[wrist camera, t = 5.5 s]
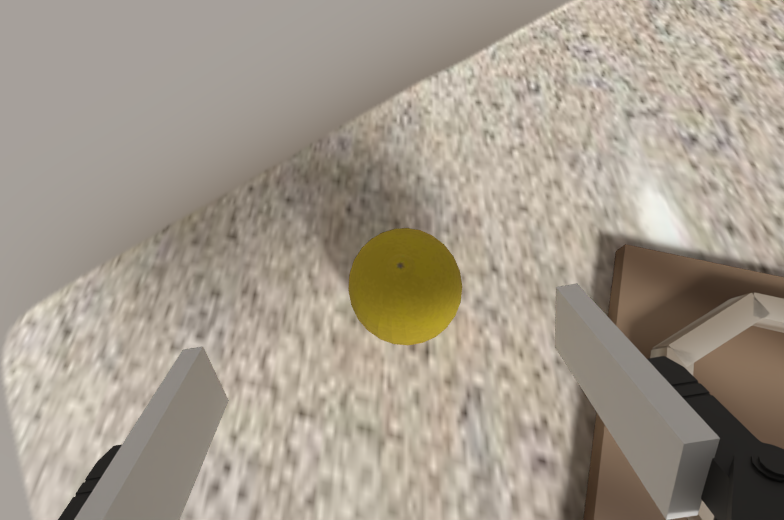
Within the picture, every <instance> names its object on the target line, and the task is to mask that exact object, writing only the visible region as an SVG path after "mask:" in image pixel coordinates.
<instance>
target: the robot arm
mask: <svg viewBox="0 0 784 520" xmlns="http://www.w3.org/2000/svg"><path fill="white" fill-rule="evenodd" d="M555 348H556V350H557V351H558V353H559V354H560V356H561V357H562V359H563V360H564V362H565V364H566V365H567V367H568V368H569V370H570V371H571V373H572V374H573V376H574V378H575V379H576V381H577V382H578V384H579V385H580V387H581V388H582V390H583V392H584V393H585V395H586V396H587V398H588V399H589V401H590V402H591V404H592V406H593V407H594V409H595V410H596V412H597V413H598V415H599V416H600V418H601V420H602V421H603V423H604V424H605V426H606V427H607V429H608V430H609V432H610V434H611V435H612V437H613V438H614V440H615V441H616V443H617V444H618V446H619V448H620V449H621V451H622V452H623V454H624V455H625V457H626V458H627V460H628V462H629V463H630V465H631V466H632V468H633V469H634V471H635V472H636V474H637V476H638V477H639V479H640V480H641V482H642V483H643V485H644V486H645V488H646V490H647V491H648V493H649V494H650V496H651V497H652V499H653V500H654V502H655V504H656V505H657V507H658V508H659V510H660V511H661V513H662V514H663V516H664V518H665V519H666V520H669V519H676V518H683V517H689V516H696V515H698V512H699V509H700V505H701V502H702V501H703V502H704V503H705V505H706V506H707V507H708V509H709V510H710V511H711V513H712V514H713V515H714V519H713V520H784V449H782V448H780V447H777V446H775V445H772V444H767V443H763V442H761V441H759V440H758V439H757V438H756V437H755V436H754V435H753V434H752V433H751V432H750V431H749V430H748V429H747V428H746V427H745V426H744V425H743V424H742V423H741V422H740V421H739V420H738V419H737V418H736V417H734V416H733V415H732V414H731V413H730V412H729V411H728V410H727V409H726V408H725V407H724V406H723V405H722V404H721V403H720V402H719V401H718V400H717V399H716V398H715V397H714V396H713V395H710V393H709V391H708V390H707V389H706V388H705V387H704V386H703V385H702V384H701V383H698V380H697V379H696V378H695V377H694V376H693V375H692V374H691V373H690V372H689V371H688V370H687V369H686V368H685V367H683V366H682V365H680V364H678V363H676V362H674V361H673V360H671V359H669V358H667V357H666V356H660V357H654V358H648V359H646V358H645V356H644V355H643V354H642V353H641V352H640V351H639V350H638V349H637V348H636V347H635V346H634V345H633V343H632V342H631V341H630V340H629V339H628V338H627V337H626V336H625V335H624V334H623V333H622V332H621V330H620V329H619V328H618V327H617V326H616V325H615V324H614V323H613V322H612V321H611V320H610V319H609V317H608V316H607V315H606V314H605V313H604V312H603V311H602V310H601V309H600V308H599V307H598V306H597V304H596V303H595V302H594V301H593V300H592V299H591V298H590V297H589V296H588V295H587V294H586V293H585V291H584V290H583V289H582V288H581V287H580V286H579V285H578V284H572V285H566V286H560V287H556V313H555ZM228 401H229V400H228V398H227V396H226V394H225V392H224V390H223V388H222V385H221V383H220V381H219V379H218V377H217V375H216V373H215V371H214V369H213V367H212V365H211V362H210V360H209V358H208V356H207V354H206V352H205V350H204V348H203V347H197V348H191V349H185V350H182V352H181V354H180V355H179V357H178V358H177V360H176V361H175V363H174V364H173V366H172V368H171V369H170V371H169V372H168V374H167V375H166V377H165V379H164V380H163V382H162V383H161V385H160V386H159V388H158V389H157V391H156V393H155V394H154V396H153V397H152V399H151V400H150V402H149V404H148V405H147V407H146V408H145V410H144V411H143V413H142V414H141V416H140V418H139V419H138V421H137V422H136V424H135V425H134V427H133V429H132V430H131V432H130V433H129V435H128V436H127V438H126V439H125V441H124V443H123V444H122V445H116V446H113V447H112V448H111V449H110V450H109V451H108V452H107V453H106V454H105V455H104V456H103V457H102V458H101V459H100V460H99V461H98V462H97V463H96V464H95V466H94V467H93V469H92V470H91V472H90V473H89V475H88V476H87V478H86V479H85V480H86V481H85V483H83V484H82V485H81V486H80V488H79V489H78V491H77V492H76V496H75V497H73V498H72V500H71V501H70V503H69V504H68V506H67V507H66V509H65V510H64V512H63V513H62V515H61V516H60V518H59V519H58V520H180V517H181V515H182V512H183V510H184V507H185V505H186V503H187V500H188V498H189V495H190V493H191V490H192V488H193V486H194V483H195V481H196V478H197V476H198V473H199V471H200V469H201V466H202V464H203V461H204V459H205V456H206V454H207V452H208V449H209V447H210V444H211V442H212V439H213V437H214V435H215V432H216V430H217V427H218V425H219V422H220V420H221V418H222V415H223V413H224V410H225V408H226V405H227V403H228Z"/></svg>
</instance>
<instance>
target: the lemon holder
mask: <svg viewBox="0 0 784 520" xmlns="http://www.w3.org/2000/svg"><path fill="white" fill-rule="evenodd" d="M608 317H609V319H610V320H611V321H612V322H613V323H614V324H615V325H616V326H617V327H618V328H619V329H620V330H621V332H622V333H623V334H624V335H625V336H626V337H627V338H628V339H629V340H630V341H631V342H632V343H633V345H634V346H635V347H636V348H637V349H638V350H639V351H640V352H641V353H642V354H643V355H644V356H645V358H646V359H648V358H654V357H660V356H666V357H667V358H669V359H671V360H673V361H674V362H676V363H678V364H680V365H682V366H683V367H685V368H686V369H687V370H688V371H689V372H690V373H691V374H692V375H693V376H694V377H695V378H696V379H697V380H698V383H701V384H702V385H703V386H704V387H705V388H706V389H707V390H708V391H709V393H710V395H713V396H714V397H715V398H716V399H717V400H718V401H719V402H720V403H721V404H722V405H723V406H724V407H725V408H726V409H727V410H728V411H729V412H730V413H731V414H732V415H733V416H734V417H736V418H737V419H738V420H739V421H740V422H741V423H742V424H743V425H744V426H745V427H746V428H747V429H748V430H749V431H750V432H751V433H752V434H753V435H754V436H755V437H756V438H757V439H758V440H759V441H761V442H763V443H767V444H772V445H775V446H777V447H780V448H782V449H784V277H780V276H775V275H770V274H765V273H761V272H756V271H751V270H746V269H741V268H737V267H732V266H727V265H722V264H717V263H713V262H708V261H703V260H698V259H693V258H689V257H684V256H679V255H674V254H669V253H665V252H660V251H655V250H650V249H646V248H641V247H636V246H631V245H626V244H625V245H624V246H623V247H621V248H620V249H618V250H617V251H616V256H615V264H614V272H613V280H612V289H611V297H610V305H609V313H608ZM713 519H714V515H713V514H712V513H711V511H710V510H709V509H708V507H707V506H706V505H705V503H704V502H703V501H702V502H701V505H700V509H699V512H698V515H696V516H689V517H683V518H676V519H669V520H713ZM583 520H666V519H665V518H664V516H663V514H662V513H661V511H660V510H659V508H658V507H657V505H656V504H655V502H654V500H653V499H652V497H651V496H650V494H649V493H648V491H647V490H646V488H645V486H644V485H643V483H642V482H641V480H640V479H639V477H638V476H637V474H636V472H635V471H634V469H633V468H632V466H631V465H630V463H629V462H628V460H627V458H626V457H625V455H624V454H623V452H622V451H621V449H620V448H619V446H618V444H617V443H616V441H615V440H614V438H613V437H612V435H611V434H610V432H609V430H608V429H607V427H606V426H605V424H604V423H603V421H602V420H601V418H600V416H599V415H598V413H597V412H596V420H595V429H594V437H593V445H592V453H591V461H590V470H589V478H588V486H587V494H586V503H585V511H584V519H583Z"/></svg>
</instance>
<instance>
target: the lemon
mask: <svg viewBox="0 0 784 520" xmlns="http://www.w3.org/2000/svg"><path fill="white" fill-rule="evenodd" d="M461 293H462V282H461V276H460V270H459V268H458V266H457V263H456V261H455V259H454V257H453V255H452V254H451V253H450V252H449V250H448V249H447V248H446V246H445V245H444V244H443V243H441V242H440V241H439V240H437V239H436V238H435V237H434V236H432V235H430V234H427V233H425V232H423V231H421V230H415V229H410V228H402V229H393V230H390V231H386V232H383V233H381V234H379V235H377V236H376V237H374V238H372V239H371V240H370V241H369V242H368V243H367V244H366V245H365V246H364V247H362V249H361V250H360V252H359V253H358V255H357V256H356V258H355V260H354V262H353V265H352V268H351V271H350V275H349V295H350V300H351V305H352V307H353V310H354V312H355V314H356V316H357V318H358V319H359V321H360V322H361V323H362V324H363V325H364V327H365V328H366V329H367V330H368V331H369V332H371V333H372V334H374V335H375V336H377V337H378V338H380V339H381V340H384V341H387V342H390V343H392V344H400V345H412V344H418V343H423V342H425V341H427V340H430V339H432V338H434V337H436V336H437V335H438V334H440V333H441V332H442V331H443V330H444V329H446V328H447V326H448V325H449V324H450V322H451V321H452V319H453V318H454V317H455V315H456V312H457V310H458V307H459V305H460V302H461Z"/></svg>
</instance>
